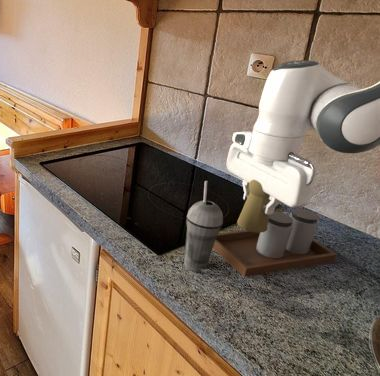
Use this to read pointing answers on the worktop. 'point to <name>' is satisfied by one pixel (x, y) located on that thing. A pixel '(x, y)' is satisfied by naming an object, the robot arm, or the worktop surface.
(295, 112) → the robot arm
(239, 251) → the spice tray
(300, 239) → the grey shaker
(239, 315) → the worktop surface
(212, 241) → the beverage cup
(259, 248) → the cylinder
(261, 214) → the cork
